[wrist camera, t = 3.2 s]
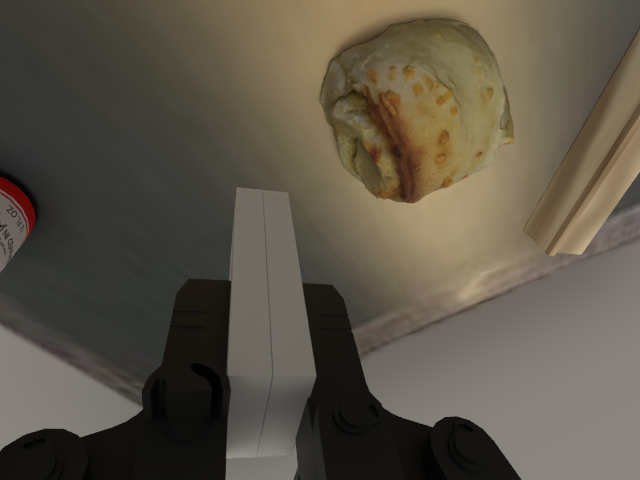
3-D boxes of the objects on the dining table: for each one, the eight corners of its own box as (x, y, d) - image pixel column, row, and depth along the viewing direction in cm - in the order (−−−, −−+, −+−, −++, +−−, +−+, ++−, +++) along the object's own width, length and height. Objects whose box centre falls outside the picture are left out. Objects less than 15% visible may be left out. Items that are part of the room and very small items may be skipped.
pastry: (284, 120, 30) (294, 169, 23) (403, -42, 25) (456, -37, 18) (412, 210, 36) (447, 268, 30) (526, 96, 31) (597, 135, 25)
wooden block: (523, 229, 39) (548, 255, 36) (660, -8, 28) (715, -2, 25) (557, 233, 40) (585, 258, 37) (704, 4, 29) (762, 12, 26)
